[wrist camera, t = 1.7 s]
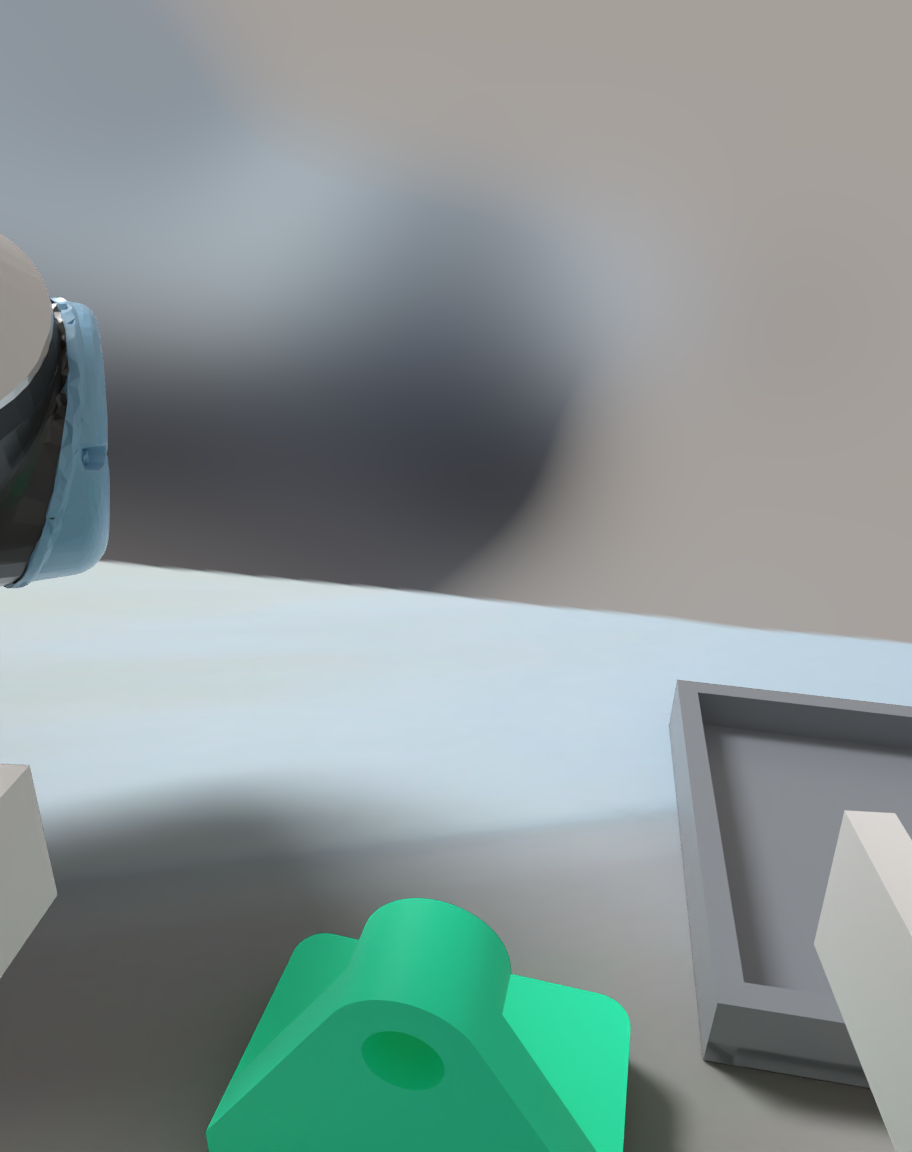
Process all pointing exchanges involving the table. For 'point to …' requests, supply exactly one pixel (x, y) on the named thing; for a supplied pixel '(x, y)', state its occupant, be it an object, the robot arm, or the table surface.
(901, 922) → the robot arm
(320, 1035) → the green mounting bracket
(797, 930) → the tray
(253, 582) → the table surface
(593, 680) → the table surface
